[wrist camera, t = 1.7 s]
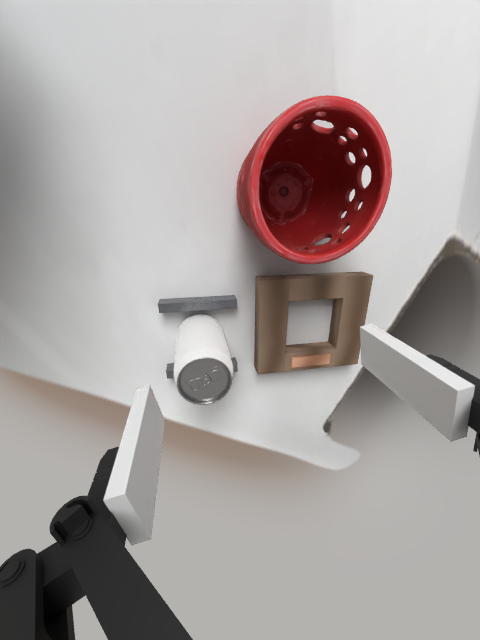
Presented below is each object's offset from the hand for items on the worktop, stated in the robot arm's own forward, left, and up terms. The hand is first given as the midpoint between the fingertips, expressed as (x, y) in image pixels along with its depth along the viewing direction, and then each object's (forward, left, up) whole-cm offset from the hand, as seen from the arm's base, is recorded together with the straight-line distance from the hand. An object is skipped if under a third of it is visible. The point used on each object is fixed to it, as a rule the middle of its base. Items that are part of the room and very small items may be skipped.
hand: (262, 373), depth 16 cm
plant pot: (+8, +11, -22) cm, 26 cm away
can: (-3, -7, -22) cm, 23 cm away
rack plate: (+13, -6, -22) cm, 26 cm away
